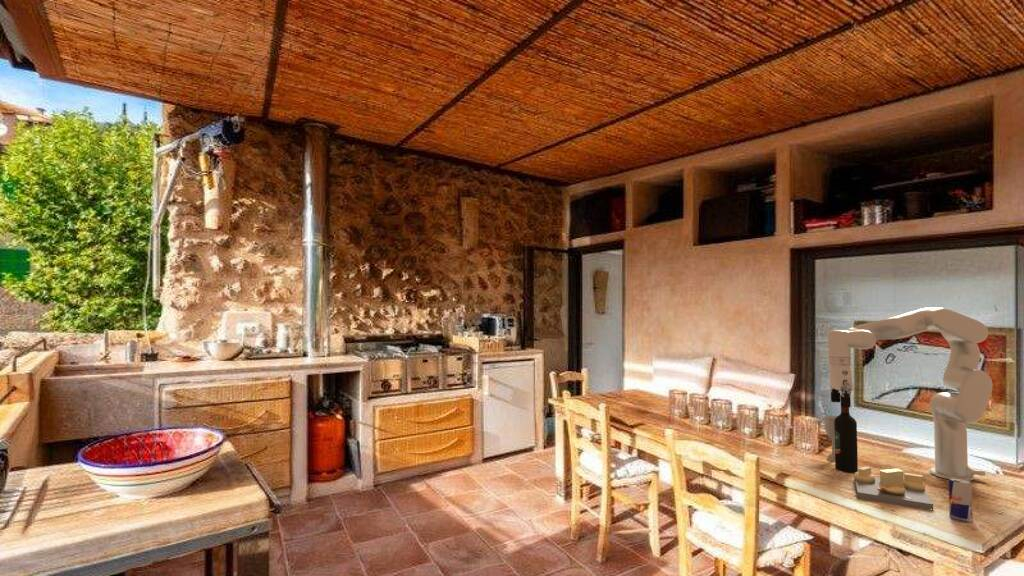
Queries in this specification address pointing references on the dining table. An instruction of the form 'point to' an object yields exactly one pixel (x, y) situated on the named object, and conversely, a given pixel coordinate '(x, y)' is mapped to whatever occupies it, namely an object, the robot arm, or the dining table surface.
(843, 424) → the wine bottle
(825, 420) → the chalice
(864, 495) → the base
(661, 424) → the dining table surface
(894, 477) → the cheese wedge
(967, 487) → the energy drink
